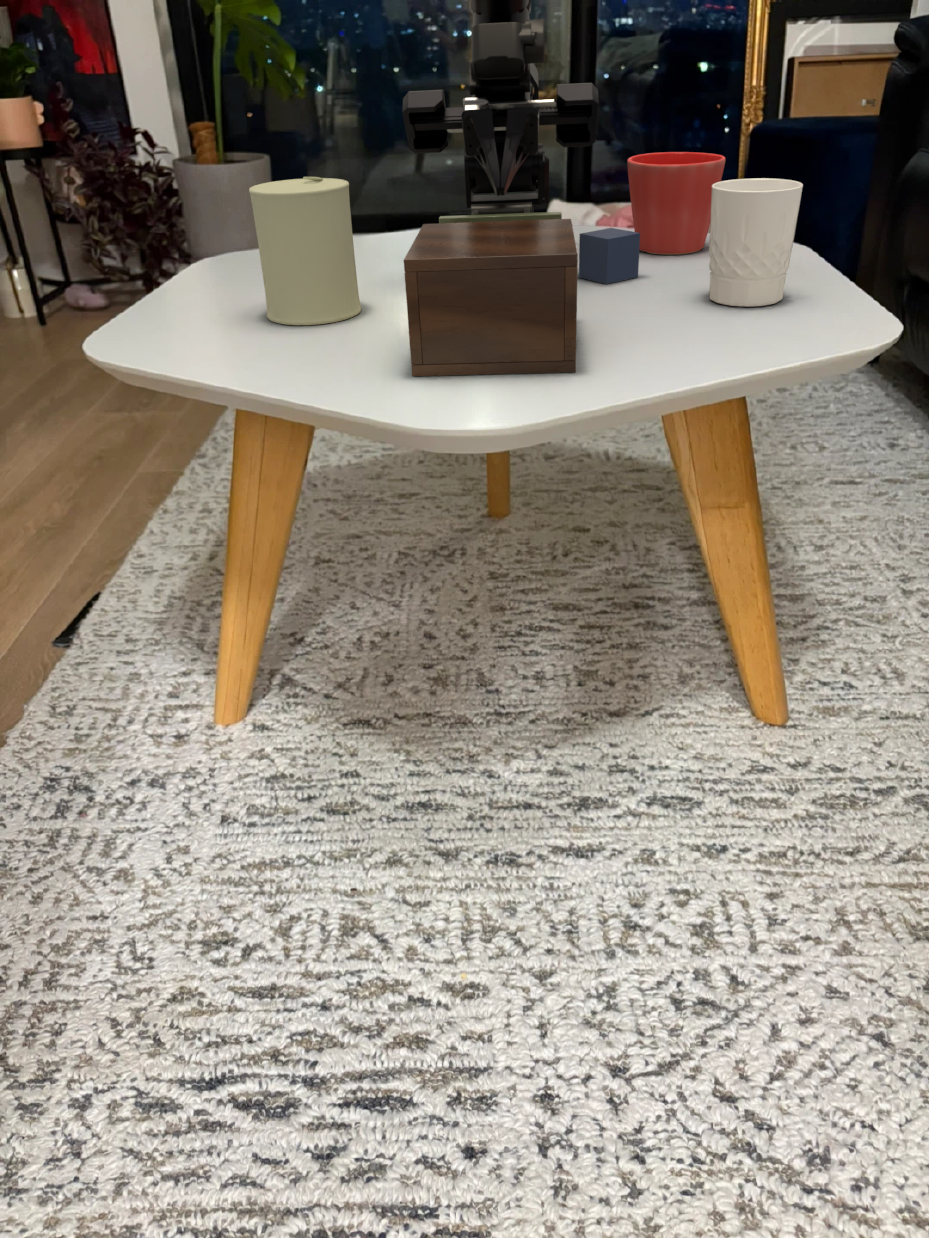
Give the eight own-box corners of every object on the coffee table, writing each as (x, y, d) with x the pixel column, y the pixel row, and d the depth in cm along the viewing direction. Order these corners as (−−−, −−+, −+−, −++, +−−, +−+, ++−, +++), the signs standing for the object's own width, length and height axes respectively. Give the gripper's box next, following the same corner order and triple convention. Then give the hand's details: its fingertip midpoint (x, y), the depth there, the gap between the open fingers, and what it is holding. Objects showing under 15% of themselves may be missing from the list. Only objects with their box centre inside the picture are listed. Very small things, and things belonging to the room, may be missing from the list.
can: (376, 303, 98) (365, 172, 91) (337, 327, 90) (321, 187, 84) (294, 299, 100) (277, 172, 94) (249, 323, 93) (228, 187, 87)
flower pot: (737, 250, 111) (746, 157, 106) (652, 262, 108) (657, 166, 103) (687, 236, 120) (693, 148, 115) (607, 246, 117) (610, 157, 112)
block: (578, 277, 103) (579, 233, 101) (610, 271, 105) (611, 227, 103) (606, 284, 100) (607, 239, 98) (638, 277, 102) (640, 233, 100)
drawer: (447, 279, 101) (443, 204, 97) (559, 276, 100) (560, 200, 96) (431, 326, 85) (426, 239, 82) (564, 323, 85) (565, 235, 81)
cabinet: (429, 326, 89) (423, 224, 85) (569, 322, 88) (571, 218, 84) (412, 376, 77) (403, 259, 72) (575, 372, 76) (577, 253, 71)
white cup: (791, 309, 89) (807, 190, 83) (702, 309, 90) (712, 192, 85) (785, 288, 95) (799, 177, 90) (702, 288, 97) (711, 179, 91)
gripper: (396, -7, 90) (391, 136, 86) (600, -18, 89) (603, 127, 85) (412, 85, 101) (408, 217, 97) (593, 77, 100) (596, 210, 96)
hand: (500, 192), depth 94 cm, fingers closed
